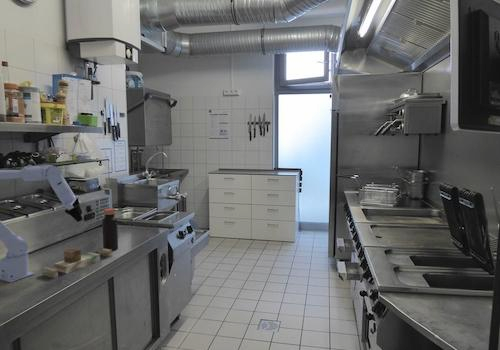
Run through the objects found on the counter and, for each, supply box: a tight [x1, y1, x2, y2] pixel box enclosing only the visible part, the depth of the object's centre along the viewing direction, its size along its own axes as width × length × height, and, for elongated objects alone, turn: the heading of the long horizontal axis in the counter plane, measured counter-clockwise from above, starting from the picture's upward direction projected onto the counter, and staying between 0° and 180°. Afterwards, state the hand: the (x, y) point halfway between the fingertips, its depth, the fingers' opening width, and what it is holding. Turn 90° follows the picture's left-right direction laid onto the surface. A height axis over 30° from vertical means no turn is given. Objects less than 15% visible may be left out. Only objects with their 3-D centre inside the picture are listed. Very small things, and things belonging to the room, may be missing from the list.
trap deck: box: [42, 247, 113, 279], centre depth 153 cm, size 29×7×3 cm, turn 154°
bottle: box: [101, 208, 119, 252], centre depth 173 cm, size 7×7×20 cm
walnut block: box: [63, 247, 82, 263], centre depth 149 cm, size 4×4×4 cm
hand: (80, 217), depth 154 cm, fingers open, 7 cm apart
